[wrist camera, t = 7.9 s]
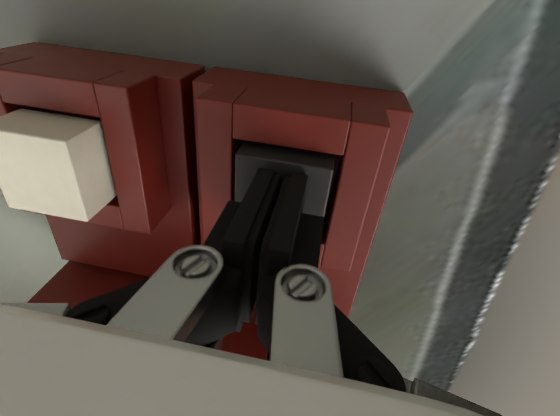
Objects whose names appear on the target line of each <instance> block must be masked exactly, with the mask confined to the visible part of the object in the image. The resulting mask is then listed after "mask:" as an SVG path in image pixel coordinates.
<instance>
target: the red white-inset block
mask: <svg viewBox="0 0 560 416" xmlns="http://www.w3.org/2000/svg"><path fill="white" fill-rule="evenodd" d="M204 73H205V71H204V66H203V65H197V64H190V63H183V62H175V61H168V60H161V59H153V58H146V57H139V56H131V55H124V54H117V53H110V52H102V51H95V50H88V49H80V48H73V47H66V46H58V45H51V44H44V43H36V42H33V43H28V44H22V45H17V46H12V47H6V48H1V49H0V116H3V115H5V114H8V113H10V112H13V111H16V110H18V109H28V110H34V111H41V112H47V113H53V114H60V115H66V116H73V117H79V118H85V119H92V120H98V121H101V123H102V128H103V132H104V137H105V142H106V147H107V151H108V156H109V161H110V165H111V170H112V175H113V179H114V184H115V189H116V194H117V195H116V196H115V197H114V198H113V199H112V200H111V201H110V202H109V203H108V204H107V205H105V206H104V207H103V208H102V209H101V210H100V211H99V212H98V213H97V214H96V215H94V216H93V217H92V218H91V219H90V220H89V221H87V222H85V221H80V220H74V219H69V218H64V217H58V216H53V215H48V214H45V215H46V217H47V219H48V222H49V225H50V228H51V230H52V233H53V236H54V239H55V241H56V244H57V247H58V250H59V252H60V255H61V258H62V259H65V260H70V261H75V262H80V263H84V264H89V265H94V266H99V267H104V268H109V269H114V270H119V271H124V272H129V273H134V274H139V275H144V276H149V277H151V276H152V275H153V274H154V273H155V272H156V271H157V270H158V269H159V268H160V266H161V265H162V264H163V263H164V262H165V261H166V260H167V259H168V258H169V257H170V256H171V255H172V254H173V253H174V252H175V251H177V250H178V249H181V248H183V247H185V246H190V245H201V235H200V217H199V198H198V180H197V161H196V143H195V124H194V106H193V87H192V81H193V80H194V79H196V78H197V77H199V76H201V75H202V74H204ZM20 210H21V209H20ZM23 211H26V210H23ZM28 212H32V211H28ZM33 213H37V212H33ZM39 214H42V213H39Z"/></svg>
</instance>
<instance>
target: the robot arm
mask: <svg viewBox="0 0 560 416" xmlns="http://www.w3.org/2000/svg"><path fill="white" fill-rule="evenodd" d="M275 174H276V172H275V170H271V169H265V168H259V169H258V170H257V172H256V174H255V176H254V178H253V180H252V182H251V184H250V186H249V188H248V190H247V192H246V194H245V196H244V198H243V200H242V202H237V201H231V200H230V201H228V202H227V204H226V206H225V207H224V209H223V211H222V213H221V214H220V216H219V218H218V220H217V221H216V223H215V225H214V227H213V228H212V230H211V232H210V234H209V235H208V237H207V239H206V241H205V242H204V244H203V245H190V246H185V247H183V248H181V249H178V250H177V251H175V252H174V253H173V254H172V255H171V256H170V257H169V258H168V259H167V260H166V261H165V262H164V263H163V264H162V265H161V266H160V268H159V269H158V270H157V271H156V272H155V273H154V274H153V275H152V276H151V277H150V278H147V279H144V280H141V281H138V282H136V283H133V284H130V285H127V286H124V287H122V288H119V289H116V290H113V291H111V292H108V293H105V294H102V295H99V296H97V297H94V298H91V299H88V300H86V301H84V302H82V303H80V304H77V305H76V306H75V307H73V308H71V307H70V305H69V303H0V416H502V415H500V414H498V413H496V412H493V411H491V410H489V409H486V408H484V407H482V406H480V405H477V404H475V403H473V402H470V401H468V400H465V399H463V398H461V397H459V396H456V395H454V394H451V393H449V392H447V391H445V390H442V389H440V388H438V387H435V386H433V385H431V384H428V383H426V382H424V381H421V380H419V379H417V378H415V379H414V381H413V382H412V381H410V380H408V379H405V378H403V377H402V375H401V374H400V372H399V371H398V370H397V368H396V367H395V366H394V365H393V364H392V363H391V362H390V361H389V360H388V359H387V358H386V357H385V356H384V354H383V353H382V352H381V351H380V350H379V349H378V348H377V347H376V346H375V345H374V344H373V343H372V342H371V341H370V340H369V339H368V338H367V337H366V336H365V335H364V334H363V333H362V332H361V331H360V330H359V329H358V328H357V327H356V326H355V325H354V324H353V323H352V322H351V321H350V320H349V319H348V318H347V317H346V316H345V315H344V314H343V313H342V312H341V311H340V310H339V309H338V308H337V307H336V306H335V305H334V300H333V292H332V285H331V282H330V279H329V278H328V277H327V275H326V274H325V273H324V272H322V271H321V270H320V269H318V265H319V256H320V248H321V240H322V232H323V224H324V217H322V216H317V215H311V214H305V213H303V208H304V201H305V195H306V188H307V182H308V176H307V175H301V174H295V173H292V175H291V177H287V176H285V178H284V181H283V184H282V187H281V190H280V181H281V175H275ZM279 191H280V193H279ZM255 304H256V311H255V324H257V325H258V328H257V337H258V338H259V339H260V341H261V342H262V344H263V345H264V346H265V348H266V349H267V354H266V360H262V359H258V358H253V357H249V356H244V355H240V354H235V353H231V352H226V351H221V350H220V348H221V346H222V344H223V341H224V336H226V335H228V334H230V333H232V332H234V331H236V332H240V331H241V328H242V325H243V322H247V323H250V320H251V317H252V314H253V311H254V307H255Z"/></svg>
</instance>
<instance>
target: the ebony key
mask: <svg viewBox="0 0 560 416" xmlns="http://www.w3.org/2000/svg"><path fill="white" fill-rule="evenodd" d="M334 161H335V154H329V153H323V152H316V151H310V150H303V149H297V148H291V147H284V146H278V145H271V144H265V143H259V142H252V141H246V140H245V141H244V142H243V144H242V145H241V147H240V148H239V150H238V151H237V153H236V155H235V201H237V202H242V200H243V198H244V196H245V194H246V192H247V190H248V188H249V186H250V184H251V182H252V180H253V178H254V176H255V174H256V172H257V170H258V169H259V168H265V169H271V170H275V172H276V174H275V175H281V181H280V190H281V187H282V184H283V181H284V178H285V176H287V177H291V175H292V173H295V174H301V175H307V176H308V182H307V188H306V195H305V201H304V208H303V213H305V214H311V215H317V216H322V217H324V216H325V211H326V206H327V201H328V196H329V191H330V186H331V181H332V176H333V171H334ZM279 193H280V191H279Z"/></svg>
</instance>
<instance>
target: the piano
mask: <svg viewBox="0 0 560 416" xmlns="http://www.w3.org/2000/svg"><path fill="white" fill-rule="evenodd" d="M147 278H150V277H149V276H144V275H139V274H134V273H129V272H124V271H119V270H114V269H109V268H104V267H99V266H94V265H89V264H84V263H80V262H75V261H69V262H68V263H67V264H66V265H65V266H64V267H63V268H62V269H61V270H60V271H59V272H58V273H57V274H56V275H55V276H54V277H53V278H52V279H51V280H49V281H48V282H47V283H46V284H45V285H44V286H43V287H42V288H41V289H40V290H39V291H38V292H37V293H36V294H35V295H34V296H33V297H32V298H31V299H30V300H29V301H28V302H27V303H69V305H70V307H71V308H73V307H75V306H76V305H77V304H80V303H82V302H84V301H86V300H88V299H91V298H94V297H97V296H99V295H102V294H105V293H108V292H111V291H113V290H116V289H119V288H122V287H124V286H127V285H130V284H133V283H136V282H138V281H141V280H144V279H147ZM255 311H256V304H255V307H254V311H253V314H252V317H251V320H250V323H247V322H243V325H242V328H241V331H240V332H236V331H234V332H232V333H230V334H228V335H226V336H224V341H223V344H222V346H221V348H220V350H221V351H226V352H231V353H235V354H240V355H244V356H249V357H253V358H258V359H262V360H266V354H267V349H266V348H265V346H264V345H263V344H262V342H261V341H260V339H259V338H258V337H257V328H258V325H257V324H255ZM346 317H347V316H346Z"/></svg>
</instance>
